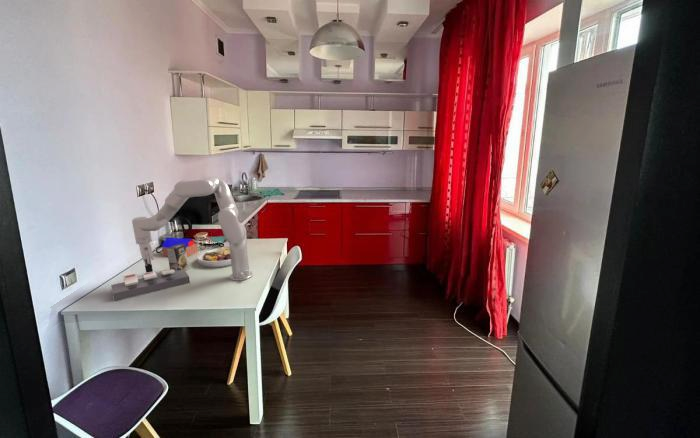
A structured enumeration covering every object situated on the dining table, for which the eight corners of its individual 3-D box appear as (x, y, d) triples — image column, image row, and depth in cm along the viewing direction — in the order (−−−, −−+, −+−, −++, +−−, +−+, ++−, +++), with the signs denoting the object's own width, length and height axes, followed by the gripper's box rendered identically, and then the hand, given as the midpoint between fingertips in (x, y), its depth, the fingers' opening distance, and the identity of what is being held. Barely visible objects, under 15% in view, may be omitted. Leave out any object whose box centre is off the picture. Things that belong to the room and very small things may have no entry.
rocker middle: (157, 278, 201) (156, 274, 200) (144, 281, 197) (144, 277, 197) (155, 275, 207) (154, 271, 207) (143, 277, 204) (142, 274, 204)
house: (175, 250, 266) (172, 235, 263) (198, 252, 260) (196, 236, 258) (162, 256, 255) (160, 239, 252) (187, 258, 249) (184, 241, 247)
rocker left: (138, 284, 196) (138, 281, 195) (125, 287, 193) (125, 284, 192) (136, 276, 202) (136, 273, 201) (123, 279, 199) (123, 276, 198)
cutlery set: (229, 237, 295) (229, 235, 295) (221, 249, 267) (220, 246, 266) (204, 239, 294) (203, 236, 293) (192, 251, 265) (192, 248, 264)
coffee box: (179, 274, 219) (175, 248, 215) (170, 274, 220) (166, 248, 216) (189, 269, 227) (185, 244, 224) (179, 268, 229) (176, 243, 225)
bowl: (191, 261, 243) (190, 249, 241) (234, 250, 262) (233, 240, 260) (209, 272, 221) (207, 260, 219) (255, 260, 240) (253, 248, 239)
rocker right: (175, 273, 205) (174, 269, 205) (163, 276, 202) (162, 272, 202) (173, 272, 212) (172, 269, 212) (161, 275, 209) (160, 271, 209)
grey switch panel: (190, 283, 206) (189, 275, 205) (114, 301, 186) (112, 293, 185) (184, 275, 217) (183, 268, 216) (112, 291, 197) (111, 284, 196)
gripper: (153, 241, 196) (159, 273, 200) (149, 235, 208) (155, 266, 212) (137, 244, 192) (143, 277, 196) (134, 238, 204) (140, 269, 208)
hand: (149, 271), depth 204 cm, fingers closed
